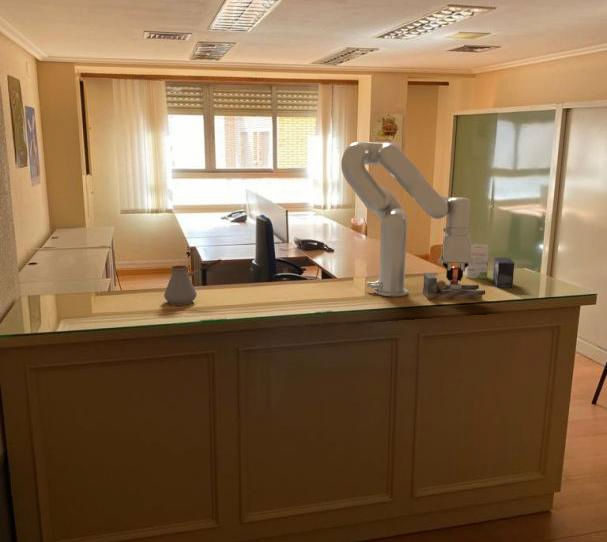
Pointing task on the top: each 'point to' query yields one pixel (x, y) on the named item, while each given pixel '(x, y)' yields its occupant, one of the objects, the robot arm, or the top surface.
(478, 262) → the ink box
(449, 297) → the press bench
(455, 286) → the ram
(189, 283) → the coffee pot
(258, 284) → the top surface
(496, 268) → the small box
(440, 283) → the walnut
